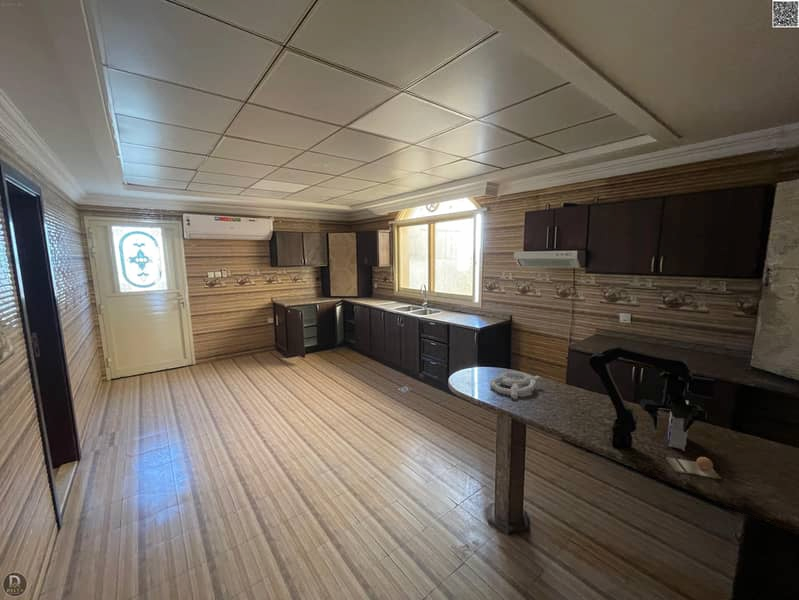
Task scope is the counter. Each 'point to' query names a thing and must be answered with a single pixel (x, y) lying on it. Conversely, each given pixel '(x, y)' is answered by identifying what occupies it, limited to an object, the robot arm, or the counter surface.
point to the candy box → (677, 433)
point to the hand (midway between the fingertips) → (669, 429)
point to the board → (691, 468)
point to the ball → (704, 463)
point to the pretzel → (514, 383)
